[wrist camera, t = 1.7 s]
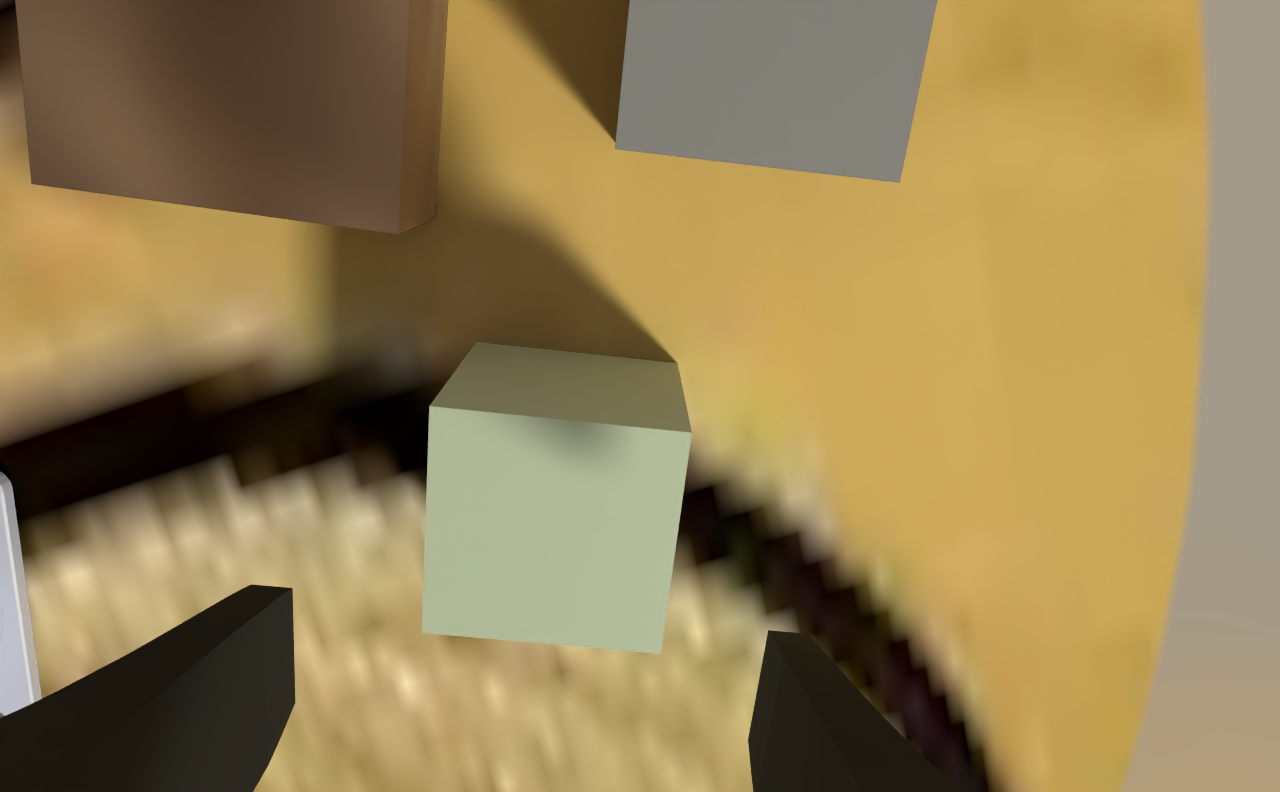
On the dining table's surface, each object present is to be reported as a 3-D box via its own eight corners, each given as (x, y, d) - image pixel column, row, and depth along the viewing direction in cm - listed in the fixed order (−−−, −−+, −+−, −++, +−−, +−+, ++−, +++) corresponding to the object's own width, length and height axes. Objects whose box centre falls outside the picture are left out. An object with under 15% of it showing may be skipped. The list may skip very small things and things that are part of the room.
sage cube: (467, 522, 22) (421, 632, 17) (477, 341, 20) (429, 406, 15) (653, 540, 22) (660, 653, 17) (677, 362, 20) (692, 433, 16)
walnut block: (136, 174, 19) (31, 183, 16) (119, -173, 17) (-7, -248, 13) (437, 216, 19) (398, 234, 16) (458, -117, 17) (418, -177, 14)
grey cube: (617, 144, 19) (614, 148, 14) (642, -102, 17) (648, -192, 12) (830, 170, 19) (900, 182, 14) (873, -71, 17) (967, -147, 13)
